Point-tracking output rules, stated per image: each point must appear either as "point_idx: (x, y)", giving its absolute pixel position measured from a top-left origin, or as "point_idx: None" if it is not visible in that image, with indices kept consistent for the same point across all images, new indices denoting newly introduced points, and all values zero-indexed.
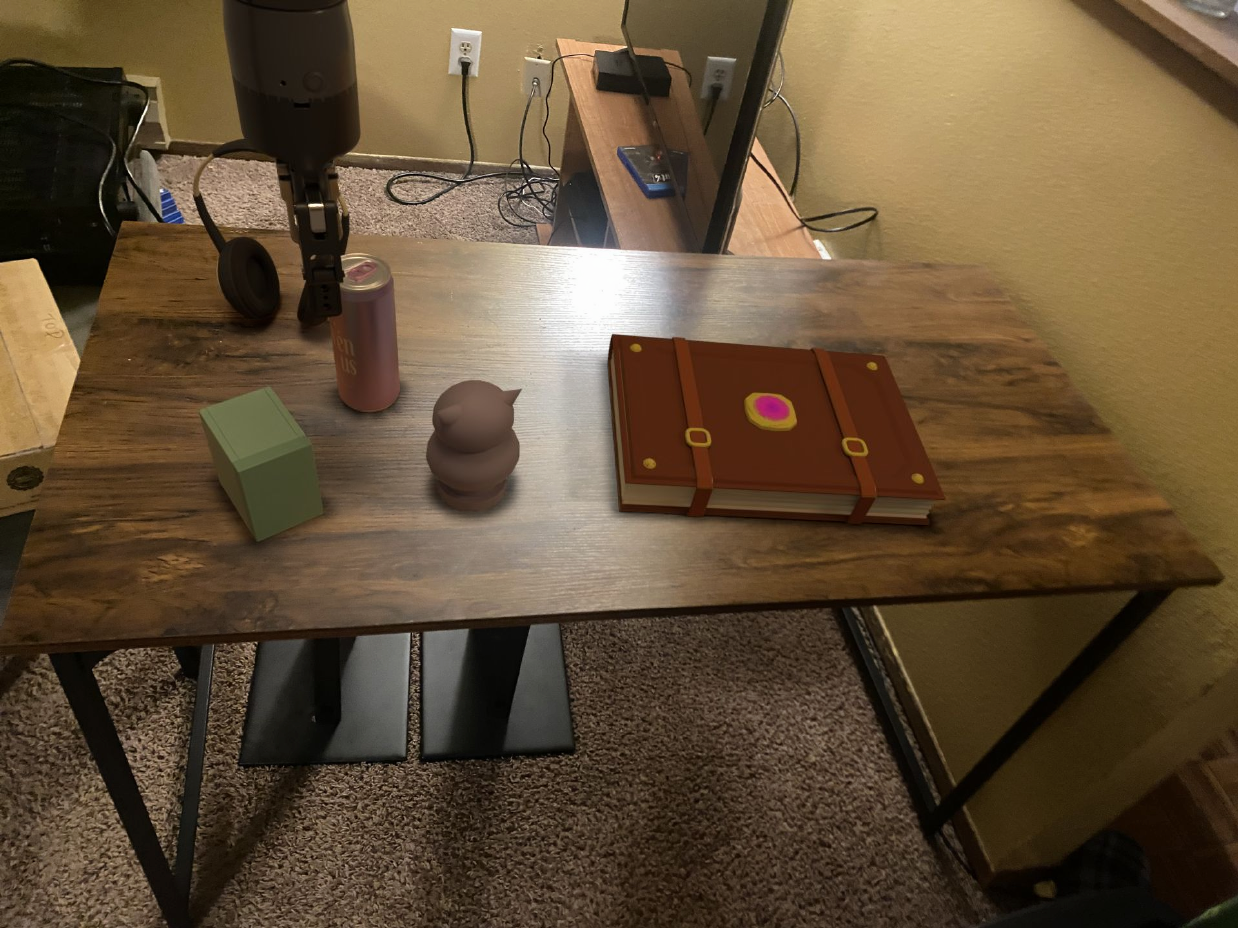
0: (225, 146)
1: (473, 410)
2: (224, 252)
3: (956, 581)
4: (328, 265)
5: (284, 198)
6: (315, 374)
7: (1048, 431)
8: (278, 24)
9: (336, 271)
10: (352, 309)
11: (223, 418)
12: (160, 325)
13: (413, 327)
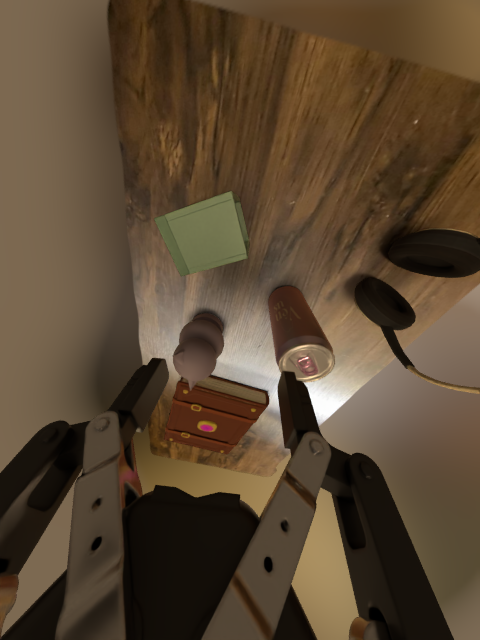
0: None
1: (178, 368)
2: (471, 244)
3: (149, 421)
4: (64, 466)
5: (62, 611)
6: (316, 275)
7: (200, 456)
8: None
9: (50, 468)
10: (278, 342)
11: (215, 214)
12: (446, 160)
13: (330, 333)
